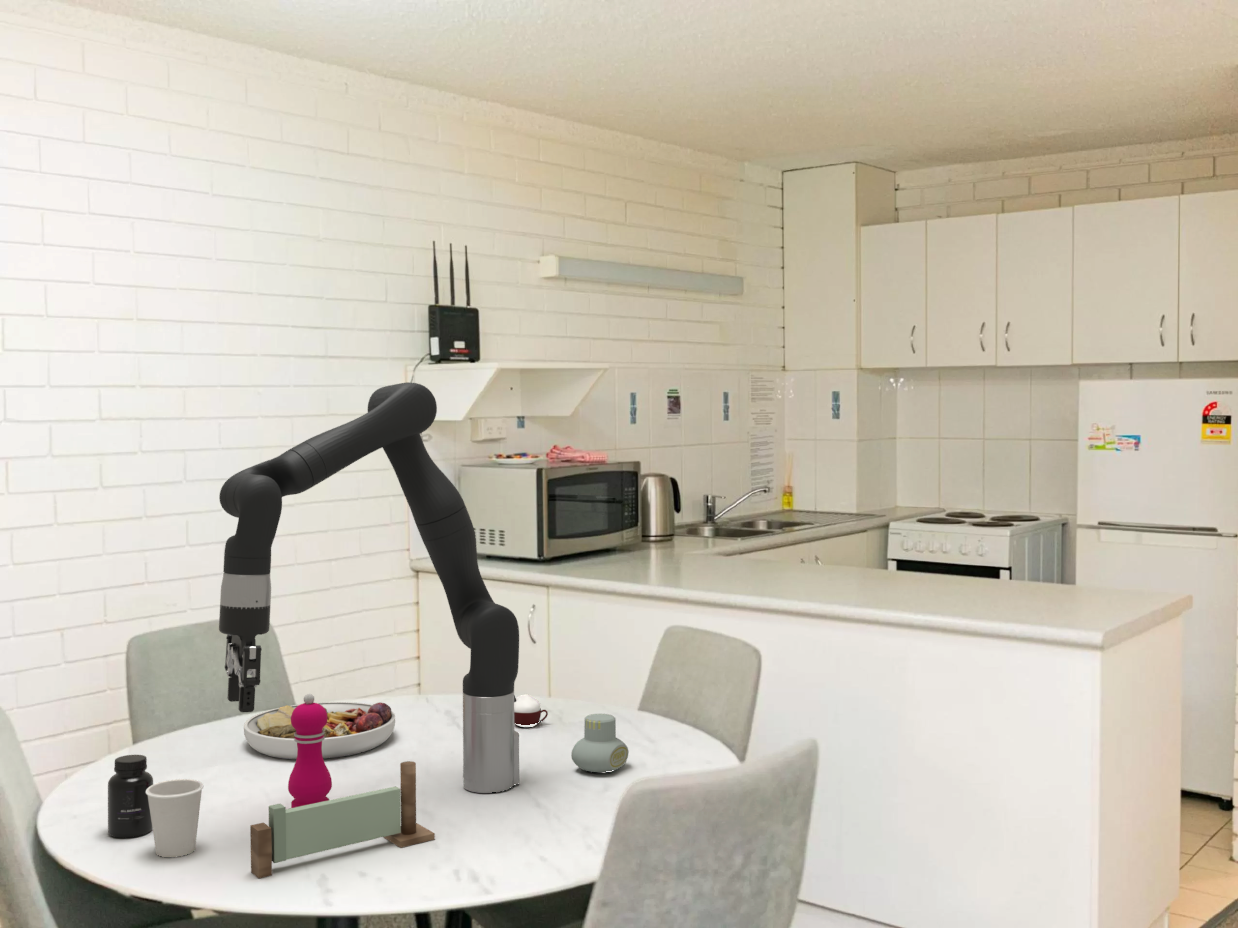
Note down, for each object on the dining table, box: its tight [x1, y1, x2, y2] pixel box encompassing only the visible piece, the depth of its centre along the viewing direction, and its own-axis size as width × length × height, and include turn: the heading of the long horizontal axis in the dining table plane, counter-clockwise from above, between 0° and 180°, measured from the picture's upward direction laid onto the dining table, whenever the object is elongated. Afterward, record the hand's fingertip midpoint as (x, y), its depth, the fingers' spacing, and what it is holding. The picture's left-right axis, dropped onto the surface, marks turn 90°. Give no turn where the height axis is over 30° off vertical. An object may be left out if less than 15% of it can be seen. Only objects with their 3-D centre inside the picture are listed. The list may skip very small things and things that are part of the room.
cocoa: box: [514, 693, 549, 725], centre depth 260 cm, size 10×6×12 cm, turn 74°
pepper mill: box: [287, 693, 333, 808], centre depth 204 cm, size 7×7×20 cm
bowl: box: [243, 701, 396, 761], centre depth 247 cm, size 30×30×8 cm
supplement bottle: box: [107, 754, 154, 839], centre depth 195 cm, size 7×7×12 cm
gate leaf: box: [268, 786, 401, 864], centre depth 184 cm, size 21×2×8 cm, turn 128°
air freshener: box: [571, 713, 630, 773], centre depth 228 cm, size 11×8×10 cm
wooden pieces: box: [249, 760, 436, 879], centre depth 185 cm, size 28×6×12 cm, turn 128°
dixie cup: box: [146, 778, 204, 858], centre depth 186 cm, size 8×8×10 cm
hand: (240, 706), depth 188 cm, fingers open, 8 cm apart
